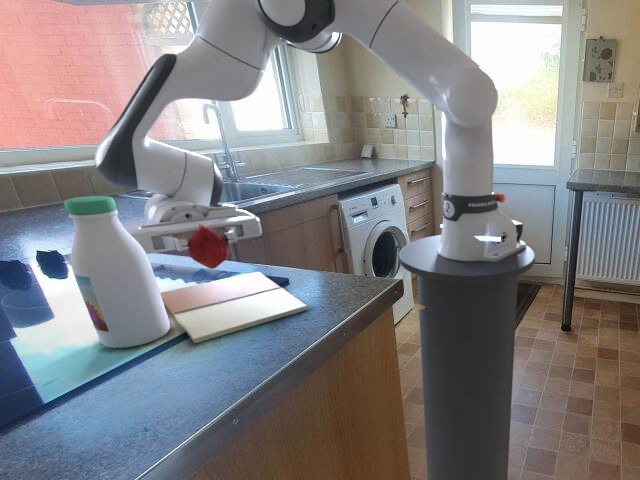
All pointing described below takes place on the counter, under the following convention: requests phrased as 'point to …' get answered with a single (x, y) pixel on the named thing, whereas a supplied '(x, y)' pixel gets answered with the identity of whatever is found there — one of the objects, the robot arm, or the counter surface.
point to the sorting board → (229, 305)
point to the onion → (208, 247)
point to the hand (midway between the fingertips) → (208, 242)
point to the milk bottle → (114, 276)
